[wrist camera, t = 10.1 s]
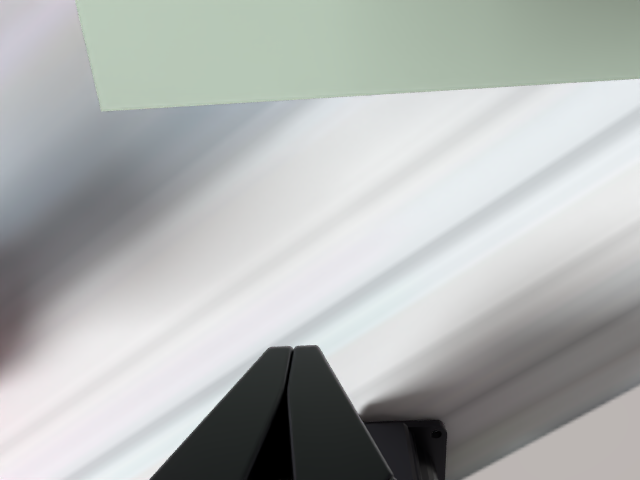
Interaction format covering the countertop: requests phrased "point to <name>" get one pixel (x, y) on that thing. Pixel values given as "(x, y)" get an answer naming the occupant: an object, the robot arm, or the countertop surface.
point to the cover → (347, 47)
